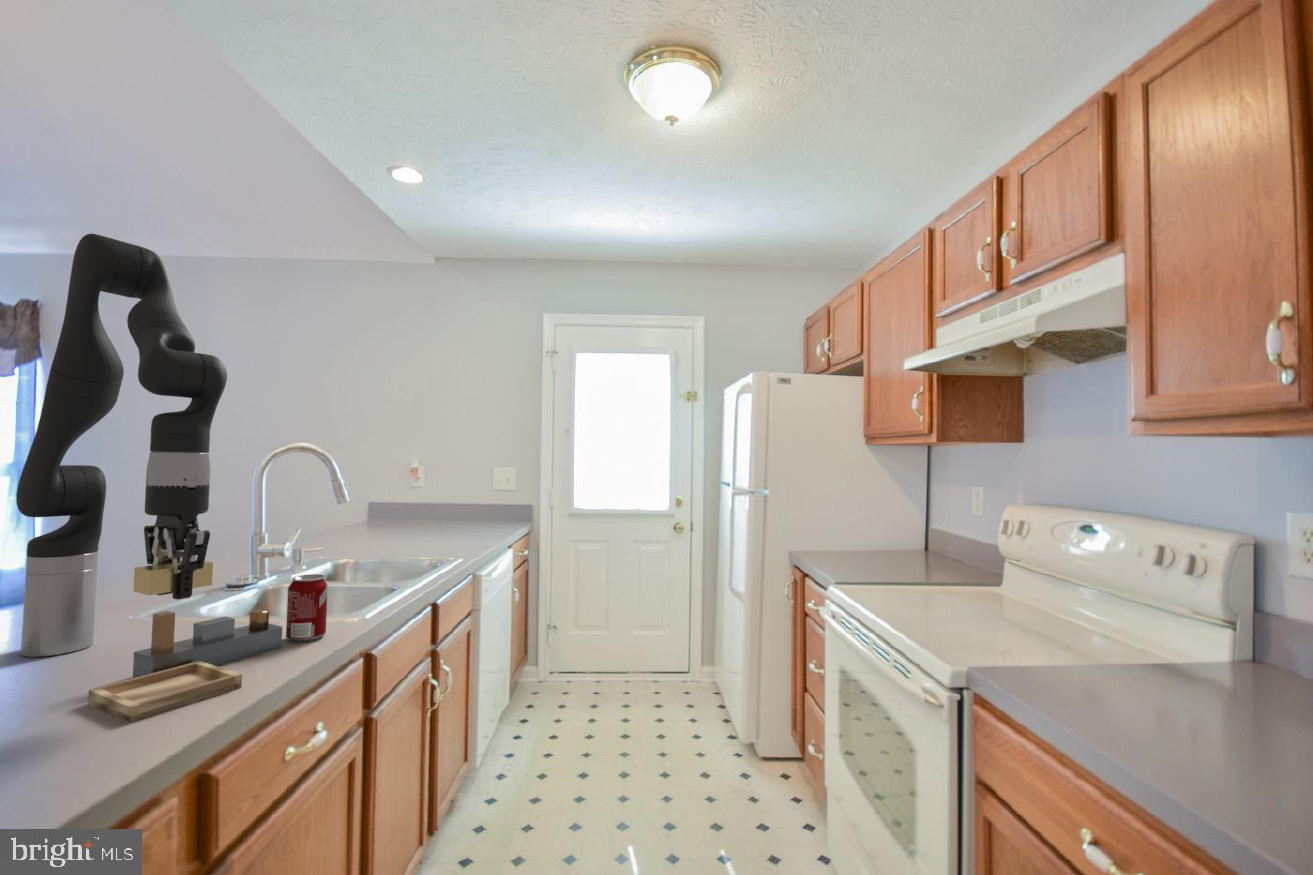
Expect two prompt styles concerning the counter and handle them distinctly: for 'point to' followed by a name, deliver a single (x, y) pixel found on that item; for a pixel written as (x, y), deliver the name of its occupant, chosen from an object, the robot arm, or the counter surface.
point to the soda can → (306, 608)
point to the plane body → (206, 642)
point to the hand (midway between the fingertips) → (173, 595)
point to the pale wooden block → (167, 578)
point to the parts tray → (163, 690)
